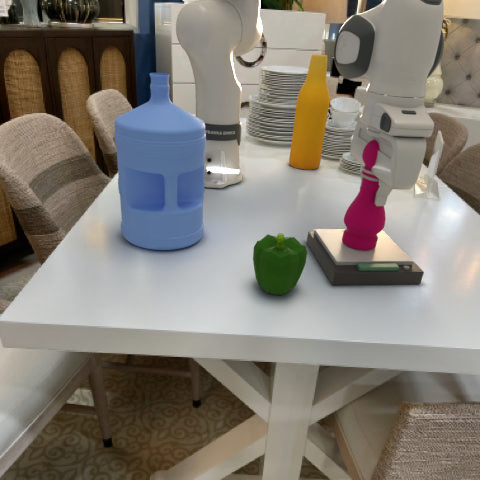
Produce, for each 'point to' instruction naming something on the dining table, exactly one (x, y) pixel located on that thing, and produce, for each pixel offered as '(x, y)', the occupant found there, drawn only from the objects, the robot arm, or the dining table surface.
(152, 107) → the water jug
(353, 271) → the scale
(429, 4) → the robot arm
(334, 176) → the dining table surface
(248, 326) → the dining table surface
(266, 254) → the bell pepper
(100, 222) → the dining table surface
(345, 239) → the pepper mill
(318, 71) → the beer bottle
